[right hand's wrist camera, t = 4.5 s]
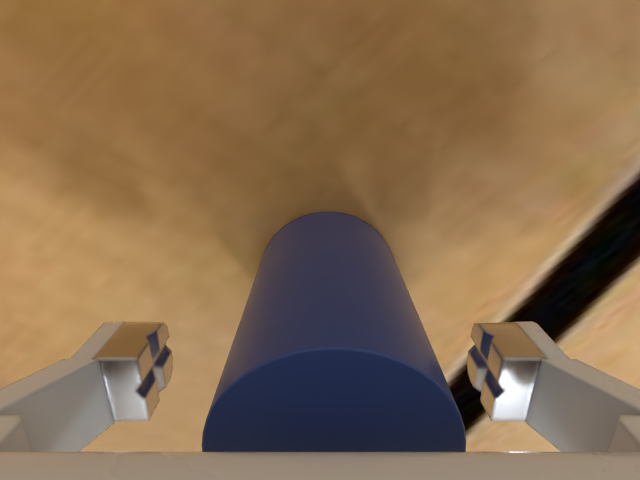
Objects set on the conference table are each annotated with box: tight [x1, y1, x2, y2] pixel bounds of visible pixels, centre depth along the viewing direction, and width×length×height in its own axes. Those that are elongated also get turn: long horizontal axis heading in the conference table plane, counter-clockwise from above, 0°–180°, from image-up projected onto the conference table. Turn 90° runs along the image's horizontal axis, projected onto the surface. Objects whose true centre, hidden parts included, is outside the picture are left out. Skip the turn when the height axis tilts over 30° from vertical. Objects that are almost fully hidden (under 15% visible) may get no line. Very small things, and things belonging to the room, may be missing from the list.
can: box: [202, 212, 466, 452], centre depth 11 cm, size 5×5×8 cm
